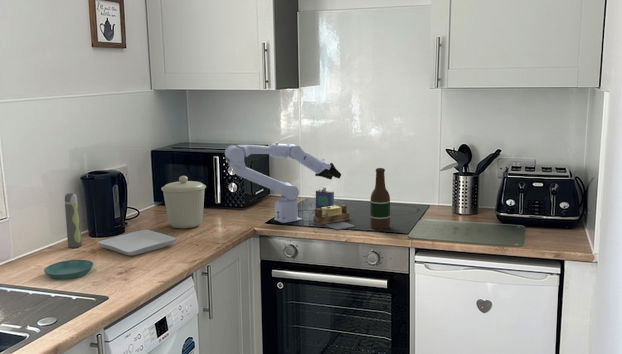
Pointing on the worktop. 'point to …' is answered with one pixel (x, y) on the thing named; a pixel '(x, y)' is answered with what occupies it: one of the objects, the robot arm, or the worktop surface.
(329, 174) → the robot arm
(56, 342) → the worktop surface
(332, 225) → the mat
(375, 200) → the beer bottle
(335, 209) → the pale yellow block
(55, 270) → the saucer
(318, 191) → the flask
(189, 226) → the canister
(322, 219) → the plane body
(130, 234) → the salad plate
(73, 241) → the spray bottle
